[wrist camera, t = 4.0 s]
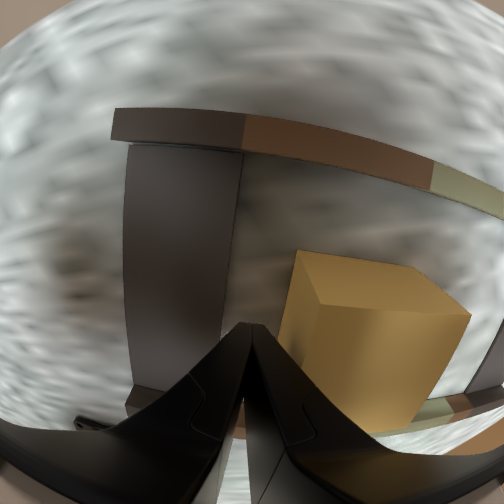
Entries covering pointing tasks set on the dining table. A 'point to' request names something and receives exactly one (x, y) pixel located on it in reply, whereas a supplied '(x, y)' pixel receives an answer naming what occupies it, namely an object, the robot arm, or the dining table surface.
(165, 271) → the frame
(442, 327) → the block
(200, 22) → the dining table surface
